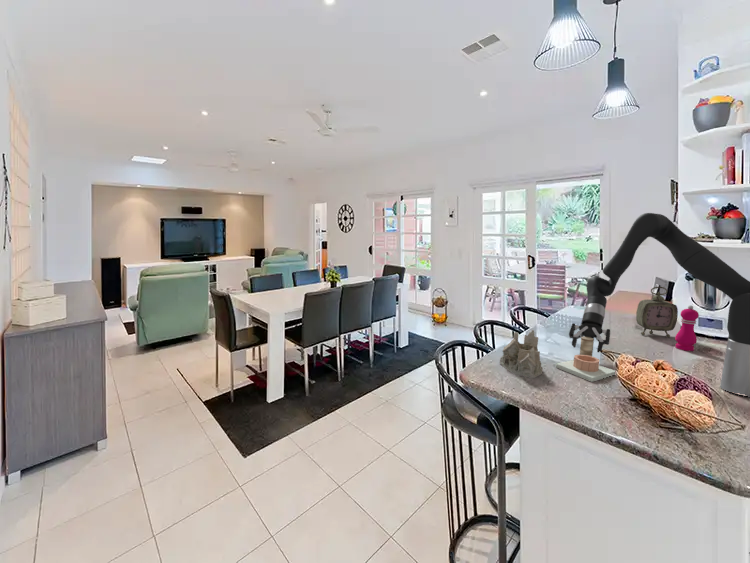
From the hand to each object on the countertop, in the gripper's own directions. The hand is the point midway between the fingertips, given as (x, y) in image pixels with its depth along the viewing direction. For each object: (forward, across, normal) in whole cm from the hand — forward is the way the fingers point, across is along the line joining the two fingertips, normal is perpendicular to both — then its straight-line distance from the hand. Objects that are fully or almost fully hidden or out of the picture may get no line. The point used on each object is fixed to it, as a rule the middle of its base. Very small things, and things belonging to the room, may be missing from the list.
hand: (586, 349), depth 141 cm
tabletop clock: (-42, +20, +48) cm, 67 cm away
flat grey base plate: (+12, +2, -6) cm, 14 cm away
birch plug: (+2, 0, +4) cm, 5 cm away
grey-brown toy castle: (+22, -18, -15) cm, 32 cm away
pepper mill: (-29, +32, +36) cm, 56 cm away
